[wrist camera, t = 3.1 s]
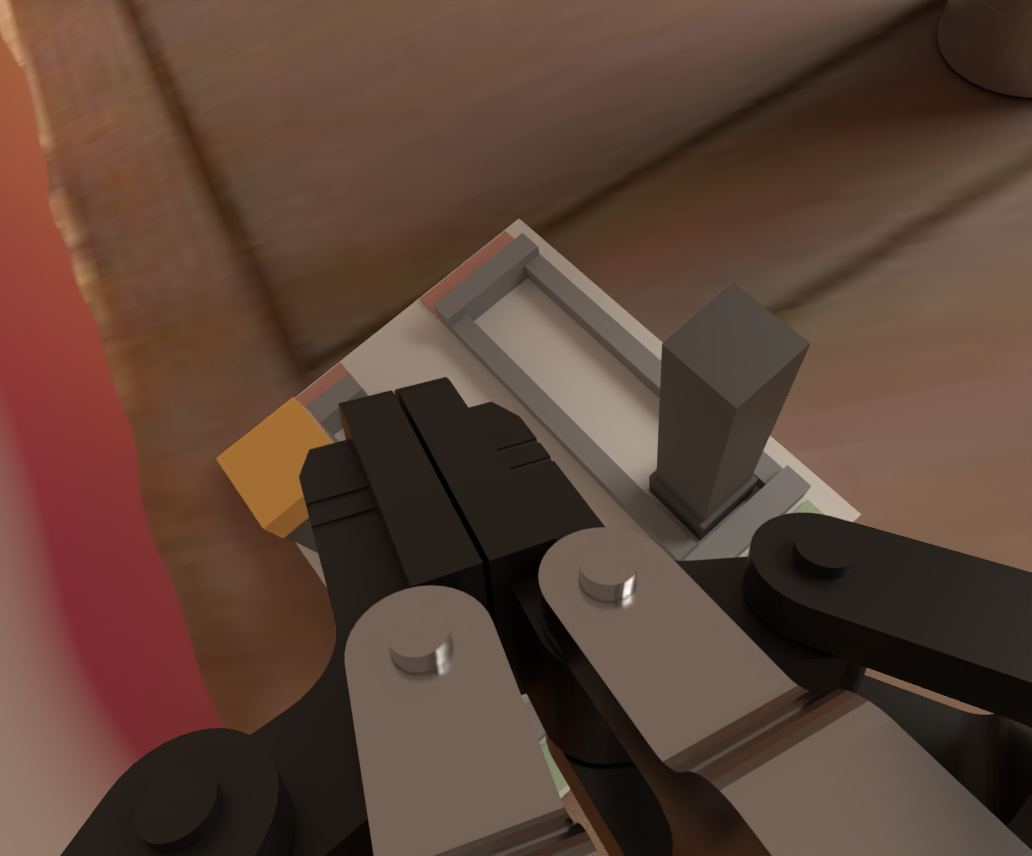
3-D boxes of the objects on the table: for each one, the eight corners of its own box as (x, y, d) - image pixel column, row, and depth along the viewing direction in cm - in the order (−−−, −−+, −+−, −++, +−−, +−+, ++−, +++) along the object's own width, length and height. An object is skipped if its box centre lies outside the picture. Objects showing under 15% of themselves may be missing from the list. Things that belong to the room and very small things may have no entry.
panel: (251, 462, 36) (15, 309, 23) (524, 241, 39) (459, -16, 25) (516, 840, 28) (390, 960, 14) (848, 526, 30) (1015, 368, 16)
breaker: (372, 555, 31) (209, 458, 19) (424, 510, 31) (294, 389, 20) (411, 606, 30) (261, 536, 18) (464, 560, 30) (351, 462, 19)
